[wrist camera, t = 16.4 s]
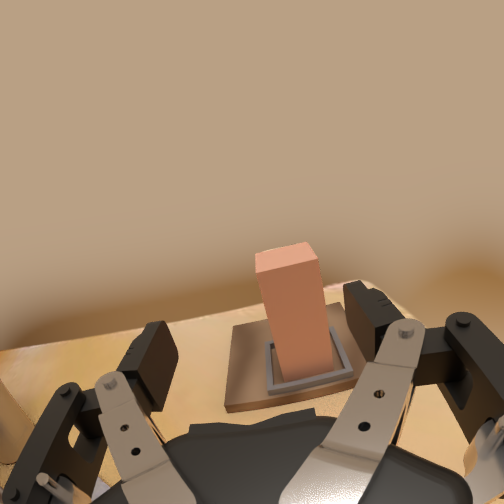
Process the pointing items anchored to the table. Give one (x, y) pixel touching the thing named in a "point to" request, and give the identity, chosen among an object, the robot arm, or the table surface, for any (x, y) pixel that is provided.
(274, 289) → the terracotta pillar
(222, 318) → the table surface
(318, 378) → the slot frame
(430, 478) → the robot arm
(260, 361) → the brown board
